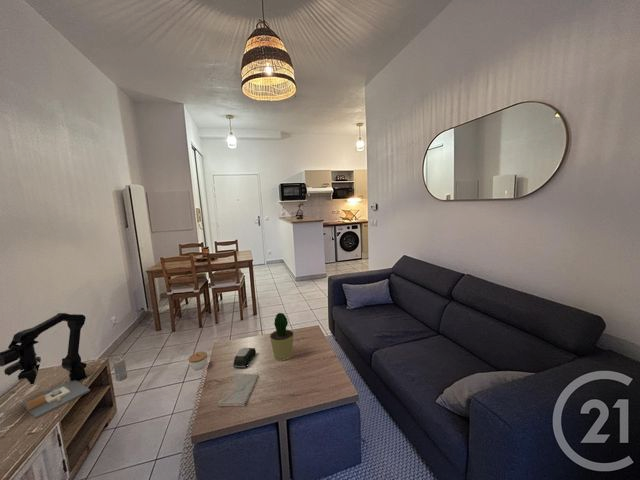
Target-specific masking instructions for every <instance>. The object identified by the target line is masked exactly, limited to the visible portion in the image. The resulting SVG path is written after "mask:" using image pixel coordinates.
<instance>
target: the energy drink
mask: <svg viewBox="0 0 640 480" xmlns="http://www.w3.org/2000/svg"><path fill="white" fill-rule="evenodd" d="M113 368H114V374H115V380H116V382H123V381H124V380H126V379H127V378H128V372H127V366H126V360H125V358H124V357H119V358H116V359H114V360H113Z"/></svg>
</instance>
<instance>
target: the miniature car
mask: <svg viewBox="0 0 640 480" xmlns="http://www.w3.org/2000/svg"><path fill="white" fill-rule="evenodd" d="M255 354H256V355H257V350H256V348H255V347H242V348H239V350H238V351H237V353H236V354H235V356H234V359H233V360H234V361H233V364H232V366H233V367H234V366H235V367H234V368H248V367H247V365H248V364H249V363H250V362H251V361H252V360H253V358H254V357H256V356H255Z"/></svg>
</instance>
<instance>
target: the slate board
mask: <svg viewBox="0 0 640 480" xmlns="http://www.w3.org/2000/svg"><path fill="white" fill-rule="evenodd" d="M61 387H65V388H67V389H68V390H69V391H70V394H68V395H66V396H63V397H61V398H60V397H58V398H57V400H55V401H53V402H51V403H49V404H48V403H47V402H44V403H42V404H40V405H38V406H36V407H34V408H32V409H30V410H28V409H27V405H26V402H28V401H31V400H33V399H35V398H37V397H39V396H41V395H46V394H48V393H51V392H52V396H51V397H54V396H56V395H59V394H61V392H60V390H59V388H61ZM90 392H91V389H90V388H88V387H87V386H86V385H84V384H82V383H81V382H80V381H76V380H73V381H70V380H68V381H66V382H64V383H62V384H60V385H57V386H56V387H53V388H52V389H49V390H47V391H44V392H42V393H40V394H38V395H35V396H33V397H31V398H29V399H27V400H25V401H23V402H20V403H21V405H22V407H24V409H26V410H27V412H28V413H29V414H30V415H31V416H32V417H33V418H34V419H35V420H36V419H38V418H40V417H43V416H45V415H47V414H48V412H49V413H50V412H53V411H54V410H57V409H58V408H60V407H62V406H64V405H67V404H68V403H70V402H72V401H75V399H78V398H80V397H82V396H83V395H86V394H88V393H90ZM46 413H47V414H46Z"/></svg>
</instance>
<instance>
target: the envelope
mask: <svg viewBox="0 0 640 480" xmlns="http://www.w3.org/2000/svg"><path fill="white" fill-rule="evenodd" d="M238 375H241V377H240V376H239V378H240V379H241V380H240V379H239V378H238ZM242 375H243V376H242ZM257 377H258V378H259V374H258V373H246V374H245V373H244V374H243V373H242V374H241V373H239V374H237V373H236V374H234V376H233V377H232V380H231V381H230V383H229V384H228V386H227V387H229V386H230V384H231V383H232V381H233V380H234V378H235V380H236V384H237V385H236V386H235V387H234V391H233V392H231V393H230V394H228V395H227V396H226V397H224V398H223V399H222V398H221V397H220V399H221V400H220V399H219V400H218V402H217V403H218V404H239V405H240V404H241V405H244V404H245V402H246V400H247V398H248V396H249V394H250V391H251V389H252V387H253V385H254V383H255V381H256V382H257V380H258V378H257ZM256 379H257V380H256ZM255 384H256V383H255ZM254 386H255V385H254ZM253 388H254V387H253ZM252 390H253V389H252ZM226 391H227V390H226V389H225V391H224V392H223V394H225V393H226ZM251 392H252V391H251ZM232 394H234V395H232ZM231 395H232V396H231ZM250 395H251V394H250ZM229 396H231V397H233V398H231V399H232V400H231V399H229V400H228V401H226V402H223V401H224V400H225V399H227V398H228V397H229ZM249 397H250V396H249ZM248 399H249V398H248ZM220 401H221V402H220ZM247 401H248V400H247ZM246 403H247V402H246ZM245 405H246V404H245Z"/></svg>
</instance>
